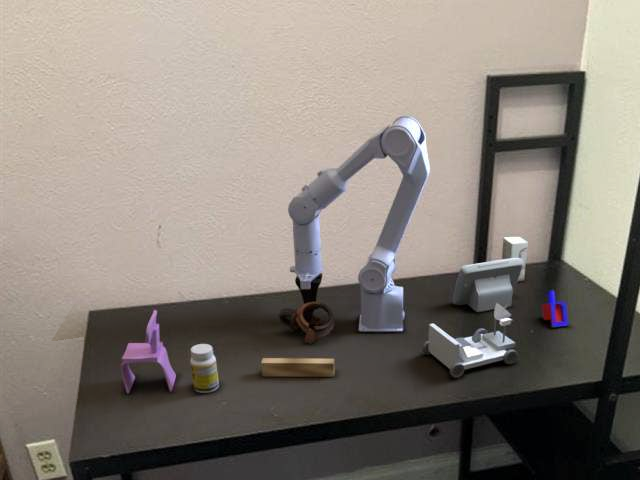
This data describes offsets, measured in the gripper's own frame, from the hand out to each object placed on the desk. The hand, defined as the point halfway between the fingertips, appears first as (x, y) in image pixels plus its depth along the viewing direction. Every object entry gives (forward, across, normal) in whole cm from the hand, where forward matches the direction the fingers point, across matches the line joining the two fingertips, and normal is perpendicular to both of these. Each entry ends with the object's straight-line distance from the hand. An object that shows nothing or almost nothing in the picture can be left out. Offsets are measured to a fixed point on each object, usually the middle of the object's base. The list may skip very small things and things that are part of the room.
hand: (310, 306), depth 173 cm
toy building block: (+3, +1, +54) cm, 54 cm away
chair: (+3, +30, -28) cm, 41 cm away
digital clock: (+3, -9, +40) cm, 41 cm away
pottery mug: (+3, +8, 0) cm, 8 cm away
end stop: (+3, +26, 0) cm, 26 cm away
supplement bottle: (+3, +31, -17) cm, 35 cm away
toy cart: (+3, +18, +35) cm, 39 cm away
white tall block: (+3, -24, +48) cm, 54 cm away
